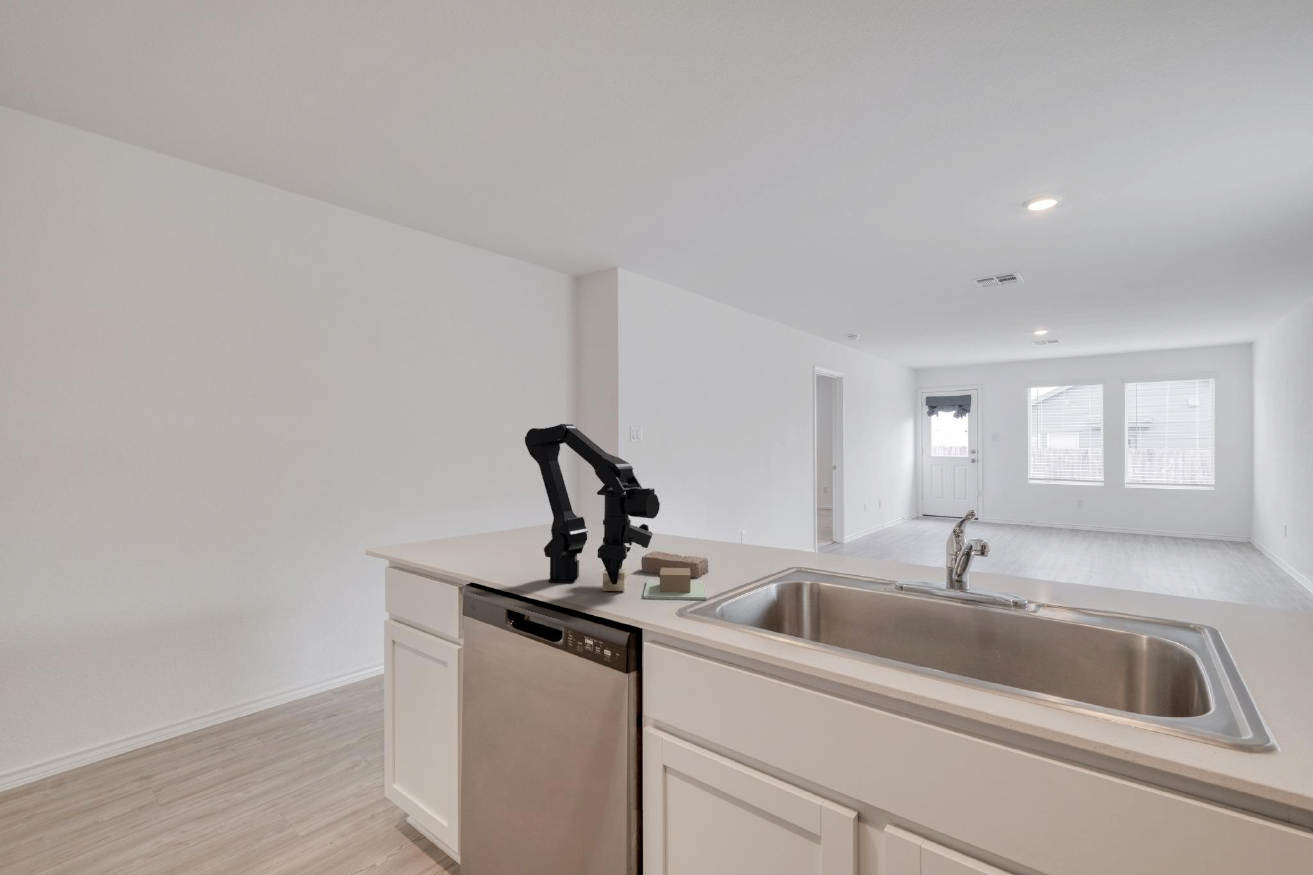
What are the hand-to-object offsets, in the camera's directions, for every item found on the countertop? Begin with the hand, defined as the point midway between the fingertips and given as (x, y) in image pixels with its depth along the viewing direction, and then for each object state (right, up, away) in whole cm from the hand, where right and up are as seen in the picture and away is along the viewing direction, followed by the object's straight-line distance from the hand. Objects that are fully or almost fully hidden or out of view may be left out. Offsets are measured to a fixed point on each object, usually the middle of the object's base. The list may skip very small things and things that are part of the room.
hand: (615, 581), depth 136 cm
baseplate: (+14, -2, -1) cm, 14 cm away
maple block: (0, -2, 0) cm, 2 cm away
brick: (+15, -3, +19) cm, 24 cm away
